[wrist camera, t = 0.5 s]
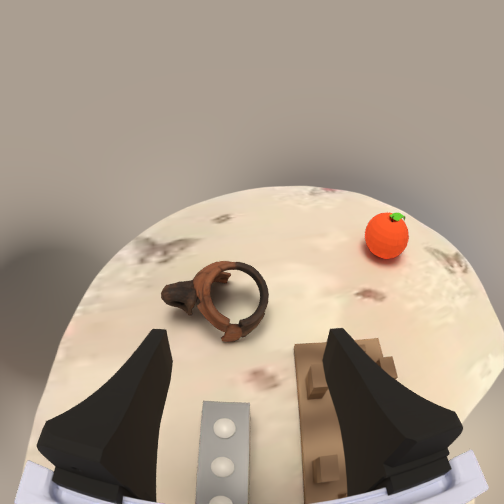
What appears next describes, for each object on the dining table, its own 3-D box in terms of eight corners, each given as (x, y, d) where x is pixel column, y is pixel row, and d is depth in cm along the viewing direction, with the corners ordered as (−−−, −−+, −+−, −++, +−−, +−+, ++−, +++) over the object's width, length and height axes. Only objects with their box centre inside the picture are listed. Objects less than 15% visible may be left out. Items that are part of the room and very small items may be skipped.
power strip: (248, 526, 17) (247, 533, 14) (204, 523, 17) (193, 529, 14) (250, 417, 26) (249, 401, 23) (210, 415, 26) (202, 399, 23)
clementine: (381, 231, 47) (391, 196, 43) (411, 254, 43) (426, 219, 38) (351, 248, 44) (361, 210, 39) (384, 275, 40) (399, 237, 35)
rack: (403, 502, 17) (426, 500, 14) (305, 523, 17) (314, 528, 14) (375, 342, 32) (388, 321, 29) (293, 348, 32) (298, 327, 29)
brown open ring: (245, 273, 41) (268, 250, 34) (255, 341, 38) (282, 332, 31) (157, 275, 37) (162, 251, 30) (163, 349, 33) (168, 343, 26)
